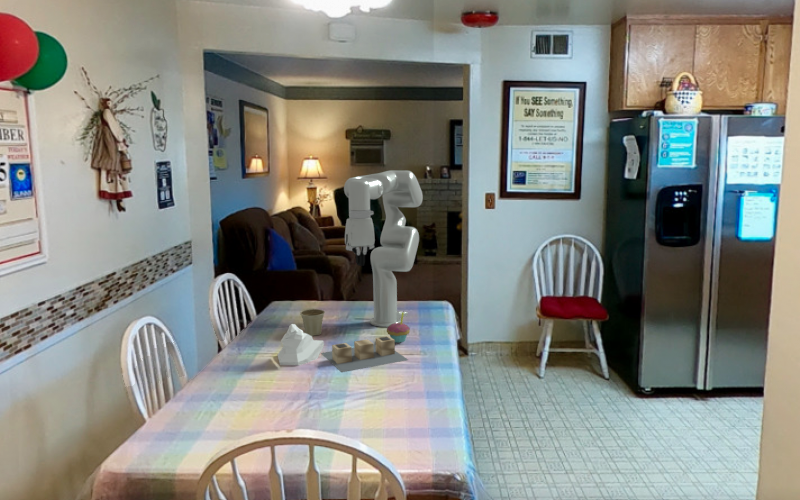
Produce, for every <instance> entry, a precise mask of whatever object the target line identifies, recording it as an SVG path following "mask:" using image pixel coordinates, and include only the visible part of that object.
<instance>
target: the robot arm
mask: <svg viewBox="0 0 800 500" xmlns="http://www.w3.org/2000/svg"><path fill="white" fill-rule="evenodd" d="M343 186H344V187H343V191H344V194H345V196H346V198H348V216H349V217H348V218H347V219H346V221H345V222H346V223H345V231H344V244H345V250H346V251H350V252H352V253H354V254H355V263H356V265H357V266H358V267H364V266H365V263H366V255H367V252H369V250H372V251H371V253H370V265H371V269H372V270H371V271H372V279H373V281H372V284H373V285H372V286H373V288H372V289H373V317H372V318H370V320H369V323H370V324H371V325H372V326H375V327H378V328H379V327H380V328H387V327H388V326H390V325H391V324H393V323H399V322H400V323H401V316H402V313H404V315H403V318H404V317H408V315H409V313H408V311H404V312H403V311H401V310H399V311H398V297H397V295H398V293H397V292H398V289H397V287H398V286H397V284H398V283H397V282H398V281H397V279H396V275H395V274H394V273H393V272H406V273H407V272H410V271H411V270H412V268H413V266H414V264H415V263H414V262H415V259H416V255H417V251H418V246H419V242H420V235H419V232H418V229H417V228H416V227H414V226H406V223H407V219H406V217H405V215H404V213H403V212H402V211H401V210H400V209H399V208H418V207H420V206H421V205H422V203H423V200H424V199H423V197H424V196H423V191H422V189H421V186H420V183H419V181H418V179H417V176H416V175H415V174H414V173H413V172H412V171H411V170H408V169H407V170H406V169H405V170H386V171H383V172H382V171H381V172H379V173H372V174H367V175H359V176H355V177H349V178H348V179H346V181H345V182H344V185H343ZM380 197H382V202H383V203H382V204H383V208H384V212H385V221H384V224H383V227H382V231H381V234H380V245H381V246H378V247H375V241H376V239H375V227H374V223H373V219H372V217H371V216H373V215H374V214H375V213H374V211H373V210H371V200H377V199H379V198H380Z"/></svg>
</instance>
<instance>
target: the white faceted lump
mask: <svg viewBox="0 0 800 500" xmlns="http://www.w3.org/2000/svg"><path fill="white" fill-rule="evenodd" d="M280 342H281V343H282V344H281V345H282V347H281V349H280V351H279V352H278V353H277V359H278V362H279V365H280V366H302V365H305V364H308V363H310V362H313V361H315V360H317V359H318V358H319V356H320V354H321V353H322V350H323V348H324V346H325V342H324V340H322V339H321V340H319V339H317V340H316V339H313V336H310V335H309V334H306V333H305V332H304V331H303V330H302V329H300V328H299V327H298V326H297V325H296V323H291V324H290V325H289V326H288V329H287V331H286V332H285V334H284V335H283V337H282V338H281V340H280Z"/></svg>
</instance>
